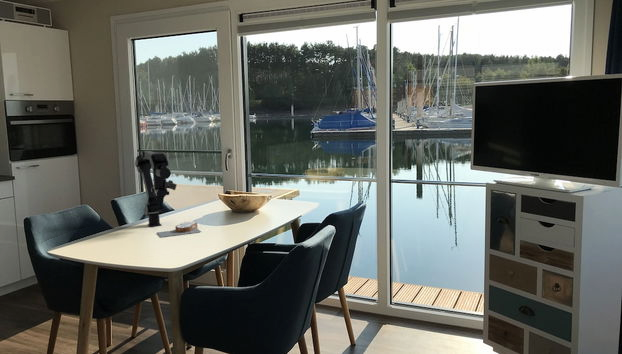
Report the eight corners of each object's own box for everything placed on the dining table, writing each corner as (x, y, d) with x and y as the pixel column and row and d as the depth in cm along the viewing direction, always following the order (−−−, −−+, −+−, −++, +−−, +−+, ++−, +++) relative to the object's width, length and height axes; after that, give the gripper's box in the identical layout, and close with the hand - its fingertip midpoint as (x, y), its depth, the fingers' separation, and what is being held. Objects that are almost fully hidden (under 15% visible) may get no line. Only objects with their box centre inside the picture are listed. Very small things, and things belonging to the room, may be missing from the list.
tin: (172, 232, 270) (188, 233, 268) (172, 226, 270) (188, 227, 268) (185, 225, 285) (200, 227, 283) (185, 220, 284) (200, 221, 283)
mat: (157, 233, 272) (157, 232, 272) (196, 228, 280) (196, 227, 280) (160, 237, 262) (160, 236, 262) (201, 232, 270) (201, 231, 270)
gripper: (178, 177, 271) (180, 208, 273) (171, 174, 288) (173, 202, 290) (155, 179, 266) (158, 210, 268) (149, 175, 283) (152, 204, 285)
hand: (161, 206), depth 278 cm, fingers closed
